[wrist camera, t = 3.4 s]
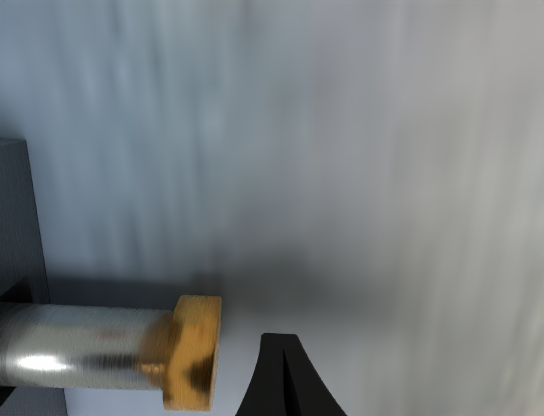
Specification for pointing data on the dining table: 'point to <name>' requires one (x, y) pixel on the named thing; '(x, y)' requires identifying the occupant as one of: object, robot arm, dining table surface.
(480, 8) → the dining table surface
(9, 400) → the hitch beam
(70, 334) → the lynch pin
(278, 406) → the robot arm
